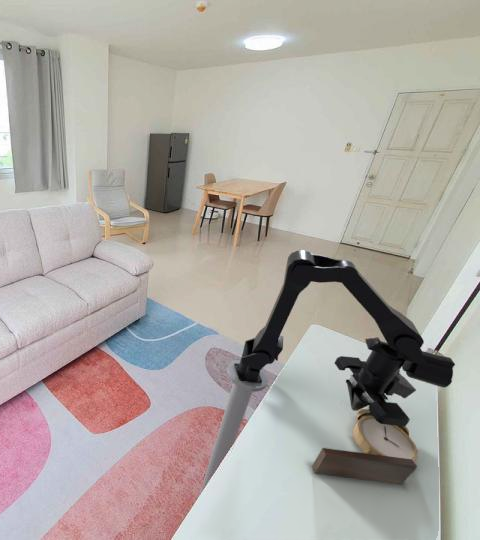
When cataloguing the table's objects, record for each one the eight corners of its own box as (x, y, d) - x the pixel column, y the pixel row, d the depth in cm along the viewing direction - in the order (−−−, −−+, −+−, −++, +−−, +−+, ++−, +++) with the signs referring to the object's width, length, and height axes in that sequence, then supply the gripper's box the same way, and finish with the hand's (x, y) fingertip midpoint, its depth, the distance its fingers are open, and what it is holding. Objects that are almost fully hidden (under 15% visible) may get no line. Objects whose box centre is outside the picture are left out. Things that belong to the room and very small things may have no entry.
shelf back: (311, 466, 66) (322, 447, 63) (396, 477, 65) (412, 459, 62) (314, 473, 65) (325, 454, 62) (401, 484, 63) (417, 466, 60)
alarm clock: (358, 445, 68) (358, 394, 78) (349, 455, 71) (351, 404, 80) (422, 475, 62) (414, 416, 72) (410, 484, 65) (404, 426, 75)
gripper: (453, 404, 61) (414, 449, 68) (389, 343, 77) (364, 384, 84) (396, 398, 61) (364, 443, 69) (345, 338, 78) (323, 380, 85)
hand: (354, 409), depth 77 cm, fingers closed
